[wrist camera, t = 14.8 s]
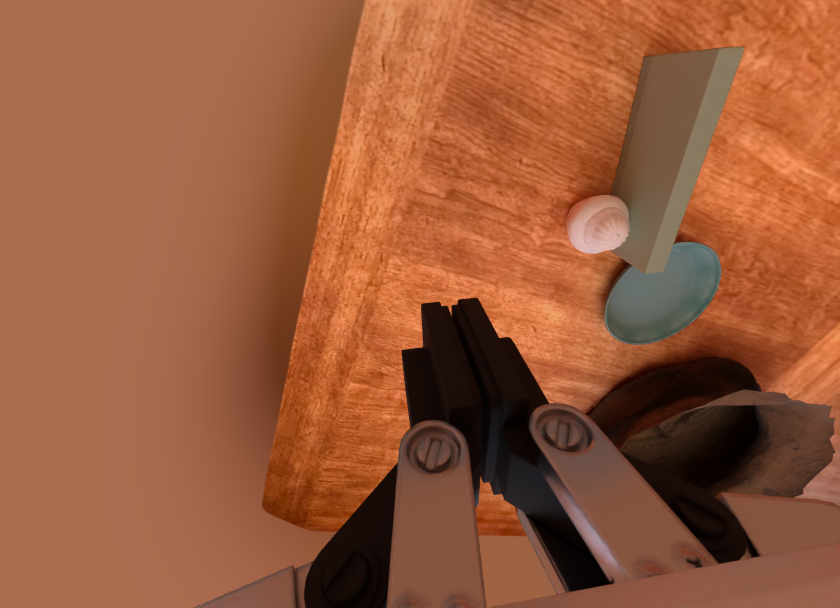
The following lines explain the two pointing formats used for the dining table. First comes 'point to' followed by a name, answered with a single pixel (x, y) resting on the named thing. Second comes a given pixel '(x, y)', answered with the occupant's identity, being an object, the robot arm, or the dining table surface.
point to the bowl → (719, 429)
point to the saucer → (662, 295)
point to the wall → (668, 146)
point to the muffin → (598, 224)
